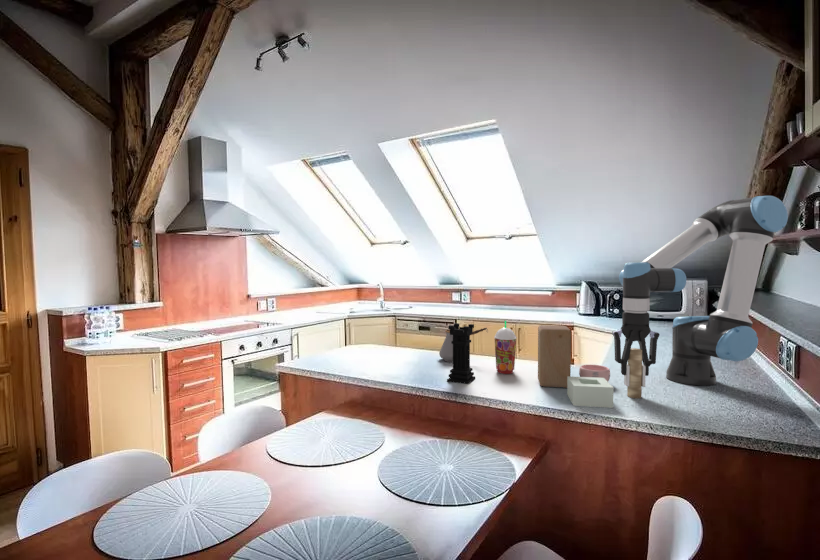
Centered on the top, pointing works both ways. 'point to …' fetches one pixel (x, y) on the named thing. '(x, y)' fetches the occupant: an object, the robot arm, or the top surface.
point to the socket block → (590, 392)
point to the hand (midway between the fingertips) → (634, 385)
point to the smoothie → (505, 350)
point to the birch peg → (635, 373)
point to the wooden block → (554, 355)
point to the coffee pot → (451, 346)
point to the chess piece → (461, 354)
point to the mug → (594, 371)
